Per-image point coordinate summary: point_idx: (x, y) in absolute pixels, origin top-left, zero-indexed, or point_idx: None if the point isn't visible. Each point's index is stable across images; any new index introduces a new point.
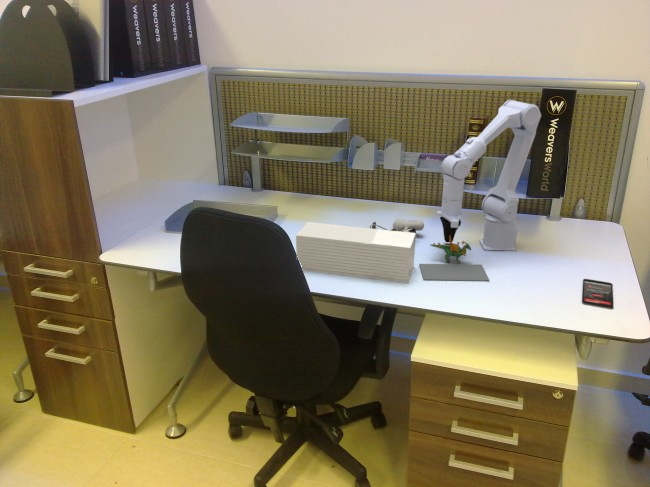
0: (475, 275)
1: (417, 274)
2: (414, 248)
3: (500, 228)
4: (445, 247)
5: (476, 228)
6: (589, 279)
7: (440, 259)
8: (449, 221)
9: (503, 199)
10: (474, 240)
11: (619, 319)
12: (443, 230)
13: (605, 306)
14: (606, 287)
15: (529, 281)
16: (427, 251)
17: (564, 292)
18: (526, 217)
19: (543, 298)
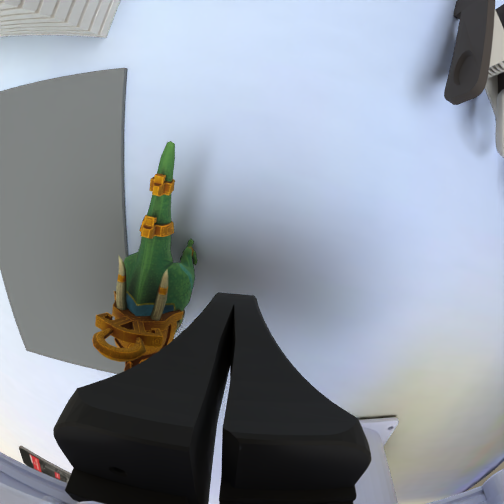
0: (42, 322)
1: (28, 64)
2: (13, 12)
3: None
4: (133, 268)
5: (484, 408)
6: None
7: (200, 210)
8: (72, 480)
9: None
10: (405, 402)
11: (2, 450)
12: (258, 341)
13: (25, 461)
14: None
15: None
16: (331, 154)
17: (48, 450)
18: (465, 482)
19: (5, 409)
